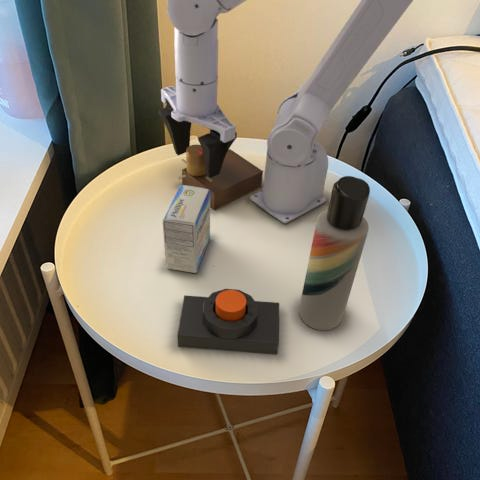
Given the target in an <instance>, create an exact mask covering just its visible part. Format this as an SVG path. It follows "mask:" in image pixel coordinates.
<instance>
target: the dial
mask: <svg viewBox="0 0 480 480" xmlns="http://www.w3.org/2000/svg"><path fill="white" fill-rule="evenodd" d="M185 154H186V155H185V158H186V160H185V161H186V162H187V164H186V168H187V172H188V174H190V175H192V176H202V175H205V174H206V171H205V159H204V153H203V150H202V147H201V145H200V144H190V146H189V147H188V148H187V149H186V153H185Z"/></svg>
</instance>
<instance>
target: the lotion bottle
mask: <svg viewBox="0 0 480 480" xmlns="http://www.w3.org/2000/svg"><path fill="white" fill-rule="evenodd" d="M370 188H371V187H370V185H369V183H368V182H367V181H366V180H364V179H362V178H359V177H355V176H351V175H345V176H342V177H340V178H339V179H338V180H337V181H335V182H334V183H333V185H332V190H331V194H330V198H329V203H328V208H326V209H324V210H323V211H322V212H320V214H319V215H318V216H317V219H316V223H315V228H314V232H313V237H312V241H311V242H312V243H311V248H310V253H309V257H308V262H307V266H306V267H307V268H306V272H305V278H304V282H303V286H302V287H303V288H302V292H301V297H300V302H299V309H298V313H299V318H300V320H302V322H303V323H304V324H305V325H306V326H308V328H309V327H310V328H311V329H314V330H317V331H329V330H332V329H335V328H336V327H338V326H339V325H340V324H341V322H342V320H343V318H344V315H345V311H346V309H347V305H348V302H349V298H350V295H351V291H352V288H353V285H354V281H355V277H356V274H357V271H358V268H359V265H360V261H361V257H362V254H363V250H364V248H365V244H366V240H367V236H368V233H369V222H368V220H367V218H366V217H365V216H364V215H365V212H366V208H367V204H368V200H369V198H370V193H371V189H370Z"/></svg>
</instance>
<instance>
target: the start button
mask: <svg viewBox="0 0 480 480" xmlns="http://www.w3.org/2000/svg"><path fill="white" fill-rule="evenodd" d="M215 311H216V314H217V316H218V317H219V318H220V319H222V320H224V321H230V322H234V321H238V320H240V319H241V318H242V317H243V316H244V315H245V311H246V298H245V296H244V295H243V294H242V293H240V292H238V291H235V290H226V291H223V292H221V293H219V294H218V296H217V297H216V309H215Z"/></svg>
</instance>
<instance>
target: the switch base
mask: <svg viewBox="0 0 480 480" xmlns="http://www.w3.org/2000/svg"><path fill="white" fill-rule="evenodd" d="M226 290H235V291H238V292H240V293H242V294H243V295H244V296H245V298H246V311H245V315H244V316H243V317H242V318H241V319H240V320H238V321H234V322H230V321H224V320H222V319H220V318H219V317H218V316H217V314H216V311H215V309H216V297H217V296H218V294H219V293H221V292H223V291H226ZM180 311H181V312H180V317H179V324H178V329H177V333H176V334H177V347H179V348H190V349H191V348H192V349H193V348H194V349H203V350H204V349H205V350H217V351H228V352H229V351H230V352H243V353H253V354H254V353H255V354H268V355H277V354H278V350H279V345H280V303H279V302H273V301H262V300H260V301H259V300H255V299H254V298H253V296H252V295H250V294H248V293H247V292H245V291H243V290H241V289H236V288H222V289H220V290H217V291H214V292H211V294H210V295H208V296H199V295H184V296H183V299H182V306H181V310H180Z"/></svg>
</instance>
